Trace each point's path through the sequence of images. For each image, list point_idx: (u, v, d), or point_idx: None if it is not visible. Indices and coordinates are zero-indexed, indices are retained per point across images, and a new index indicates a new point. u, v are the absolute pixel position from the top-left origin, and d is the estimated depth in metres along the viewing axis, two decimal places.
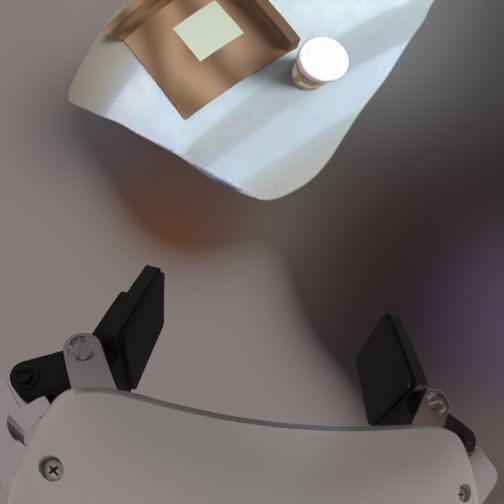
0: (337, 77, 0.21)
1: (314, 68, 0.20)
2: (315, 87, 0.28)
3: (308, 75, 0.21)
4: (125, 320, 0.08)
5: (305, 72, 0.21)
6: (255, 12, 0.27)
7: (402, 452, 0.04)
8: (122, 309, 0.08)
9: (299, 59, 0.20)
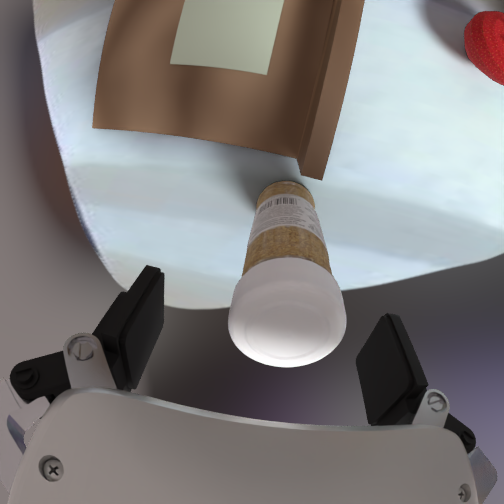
0: (273, 365, 0.11)
1: (248, 335, 0.10)
2: None
3: None
4: (125, 321, 0.08)
5: None
6: (316, 60, 0.16)
7: (402, 452, 0.04)
8: (122, 309, 0.08)
9: (239, 301, 0.10)
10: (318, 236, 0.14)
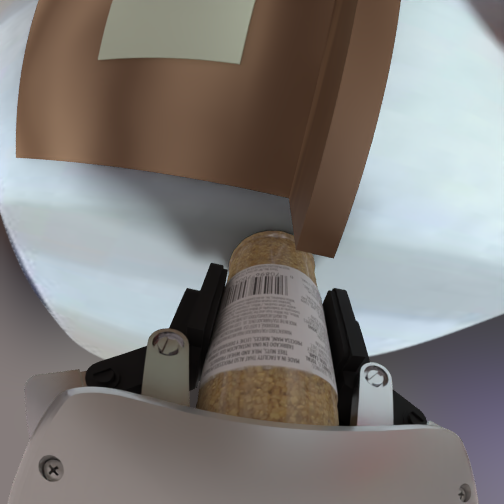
0: None
1: None
2: None
3: None
4: (207, 314, 0.09)
5: None
6: (321, 40, 0.09)
7: (402, 452, 0.04)
8: (201, 304, 0.09)
9: None
10: (323, 375, 0.07)
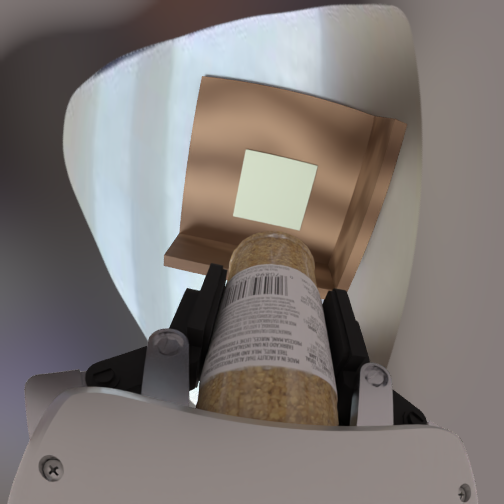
0: None
1: None
2: None
3: None
4: (208, 315, 0.09)
5: None
6: None
7: (402, 452, 0.04)
8: (201, 304, 0.09)
9: None
10: (323, 375, 0.07)
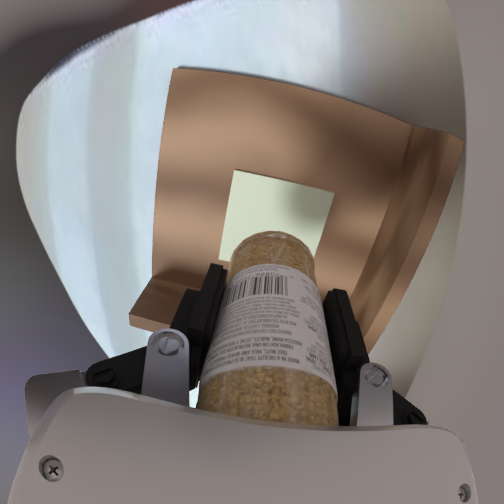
0: None
1: None
2: None
3: None
4: (208, 314, 0.09)
5: None
6: None
7: (402, 452, 0.04)
8: (201, 304, 0.09)
9: None
10: (323, 375, 0.07)
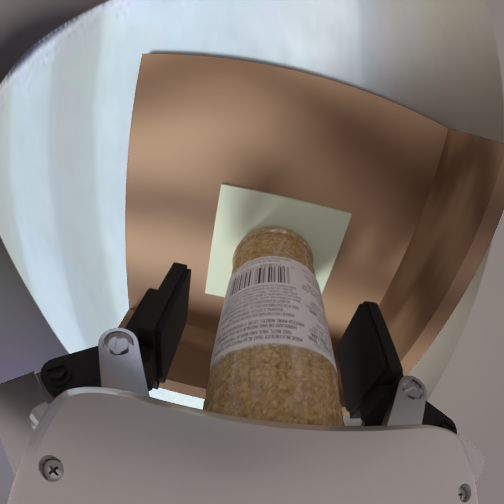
0: None
1: None
2: None
3: None
4: (160, 315, 0.08)
5: None
6: None
7: (402, 452, 0.04)
8: (156, 304, 0.09)
9: None
10: (324, 353, 0.08)
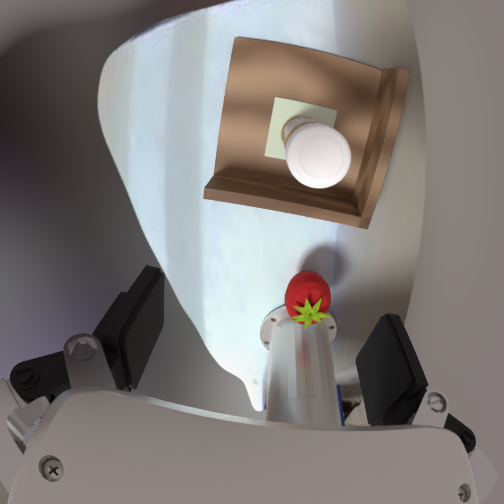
0: (313, 186, 0.19)
1: (299, 160, 0.18)
2: None
3: (286, 160, 0.19)
4: (125, 320, 0.08)
5: (286, 155, 0.18)
6: (276, 183, 0.33)
7: (402, 452, 0.04)
8: (122, 309, 0.08)
9: (294, 138, 0.18)
10: None
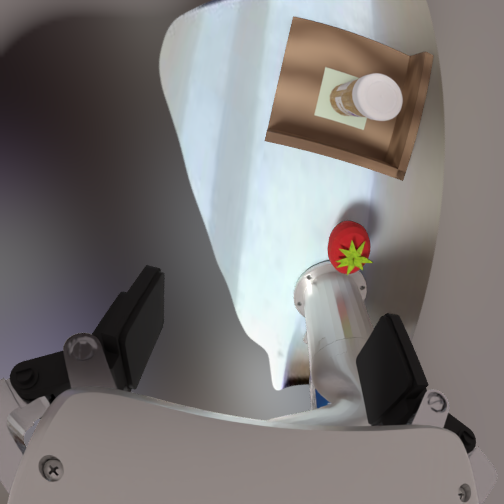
0: (375, 118, 0.21)
1: (366, 96, 0.20)
2: (344, 112, 0.29)
3: (356, 96, 0.21)
4: (125, 320, 0.08)
5: (356, 92, 0.20)
6: (322, 140, 0.35)
7: (402, 452, 0.04)
8: (122, 309, 0.08)
9: (362, 79, 0.20)
10: None
